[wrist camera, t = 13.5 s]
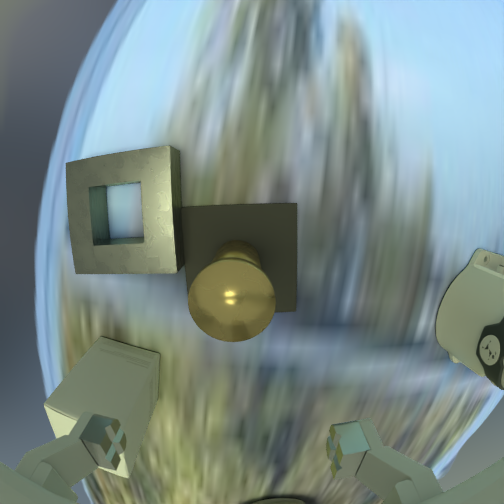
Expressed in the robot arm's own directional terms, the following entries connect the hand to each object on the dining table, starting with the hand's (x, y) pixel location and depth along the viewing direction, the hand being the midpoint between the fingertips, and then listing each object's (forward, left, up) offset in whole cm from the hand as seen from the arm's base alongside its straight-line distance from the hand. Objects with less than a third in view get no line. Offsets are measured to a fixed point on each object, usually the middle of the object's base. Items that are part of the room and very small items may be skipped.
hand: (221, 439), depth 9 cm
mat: (0, -1, -23) cm, 23 cm away
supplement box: (+16, +14, -23) cm, 31 cm away
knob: (0, -1, -22) cm, 22 cm away
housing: (+12, -7, -23) cm, 26 cm away
